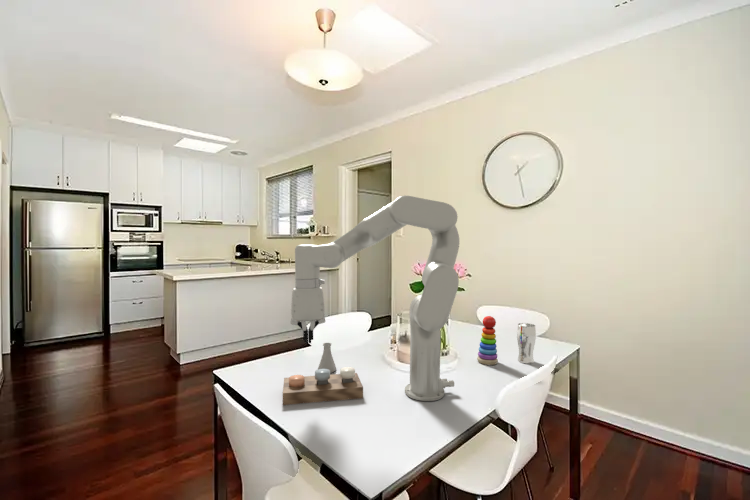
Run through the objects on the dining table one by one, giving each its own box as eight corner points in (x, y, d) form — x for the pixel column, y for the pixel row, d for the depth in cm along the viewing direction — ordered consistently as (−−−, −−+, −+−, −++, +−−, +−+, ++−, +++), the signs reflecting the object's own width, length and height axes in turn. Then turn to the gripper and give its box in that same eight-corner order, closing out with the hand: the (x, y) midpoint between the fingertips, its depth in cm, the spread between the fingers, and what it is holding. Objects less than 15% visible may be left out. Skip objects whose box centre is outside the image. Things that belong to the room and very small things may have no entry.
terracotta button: (304, 391, 116) (304, 374, 115) (304, 397, 111) (304, 380, 111) (288, 392, 115) (289, 375, 114) (288, 399, 110) (288, 381, 110)
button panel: (356, 382, 123) (356, 372, 123) (362, 398, 111) (363, 387, 111) (284, 388, 118) (284, 377, 118) (282, 405, 106) (282, 393, 106)
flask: (333, 374, 130) (333, 347, 130) (314, 372, 132) (314, 345, 131) (339, 367, 137) (339, 341, 137) (321, 366, 139) (321, 340, 138)
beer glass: (516, 362, 144) (517, 325, 144) (516, 357, 151) (517, 322, 150) (535, 365, 142) (536, 327, 141) (534, 359, 148) (535, 323, 148)
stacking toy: (477, 364, 142) (478, 317, 141) (476, 358, 150) (477, 313, 149) (498, 366, 140) (499, 318, 140) (496, 359, 148) (497, 314, 147)
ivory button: (353, 383, 119) (353, 366, 119) (356, 389, 114) (356, 371, 114) (339, 384, 118) (339, 367, 118) (340, 390, 113) (341, 372, 113)
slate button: (329, 384, 117) (329, 368, 117) (330, 391, 112) (330, 373, 112) (314, 386, 116) (314, 369, 116) (315, 392, 111) (315, 374, 111)
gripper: (330, 281, 118) (331, 337, 118) (283, 283, 114) (284, 340, 115) (332, 284, 110) (333, 344, 111) (282, 286, 107) (283, 347, 108)
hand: (308, 342), depth 113 cm, fingers closed
